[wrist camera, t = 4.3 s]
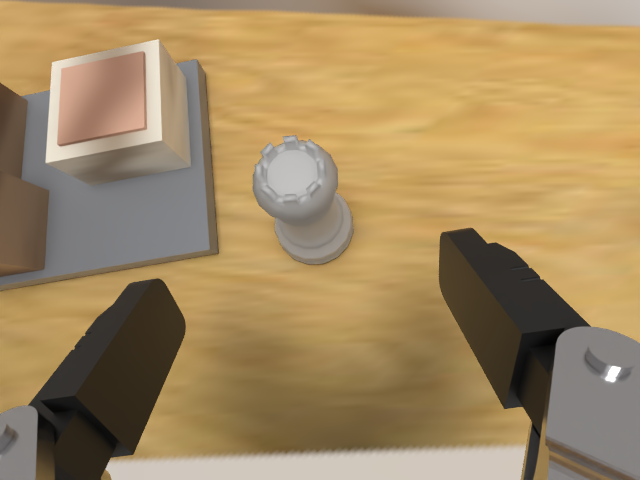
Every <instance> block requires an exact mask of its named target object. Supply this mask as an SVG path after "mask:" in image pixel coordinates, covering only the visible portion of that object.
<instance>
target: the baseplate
mask: <svg viewBox="0 0 640 480" xmlns="http://www.w3.org/2000/svg"><path fill="white" fill-rule="evenodd" d="M177 66H178V67H179V69H180V70H181V72H182V73H183V74H184V76H185V77H186V84H187V101H188V119H189V137H190V155H191V167H188V168H182V169H177V170H172V171H166V172H161V173H156V174H151V175H145V176H140V177H135V178H129V179H124V180H119V181H114V182H108V183H103V184H98V185H93V186H91V185H89V184H87V183H85V182H83V181H81V180H79V179H77V178H75V177H73V176H71V175H69V174H67V173H65V172H63V171H61V170H58V169H56V168H54V167H52V166H50V165H48V164H46V163H45V162H46V147H47V132H48V117H49V102H50V90H49V91H44V92H40V93H35V94H30V95H25V96H21V97H22V98H24V99H26V100H27V101H28V106H27V118H26V129H25V141H24V152H23V164H22V175H21V179H22V180H24V181H27V182H29V183H32V184H34V185H36V186H39V187H41V188H44V189H46V190H49V205H48V221H47V237H46V253H45V270H39V271H33V272H27V273H22V274H16V275H10V276H4V277H0V291H2V290H7V289H13V288H19V287H25V286H31V285H37V284H42V283H48V282H54V281H60V280H66V279H72V278H77V277H83V276H89V275H95V274H101V273H107V272H113V271H118V270H124V269H130V268H136V267H142V266H148V265H153V264H159V263H165V262H171V261H177V260H183V259H189V258H194V257H200V256H206V255H212V254H218V241H217V228H216V214H215V201H214V187H213V173H212V160H211V146H210V133H209V119H208V105H207V92H206V78H205V72H204V70H203V69H202V67H201V65H200V64H199V62H198V60H197V59H196V60H191V61H187V62H182V63H177Z"/></svg>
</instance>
